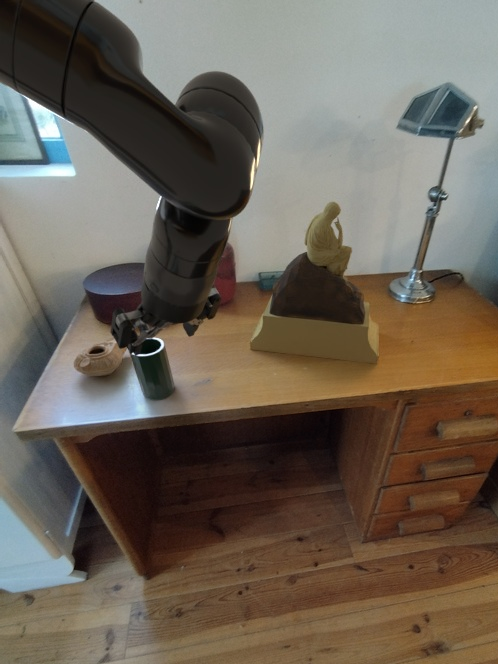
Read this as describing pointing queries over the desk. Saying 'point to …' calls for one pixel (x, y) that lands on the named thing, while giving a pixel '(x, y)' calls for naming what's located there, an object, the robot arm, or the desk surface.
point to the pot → (153, 369)
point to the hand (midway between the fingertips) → (161, 339)
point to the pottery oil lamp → (100, 358)
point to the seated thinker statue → (319, 302)
